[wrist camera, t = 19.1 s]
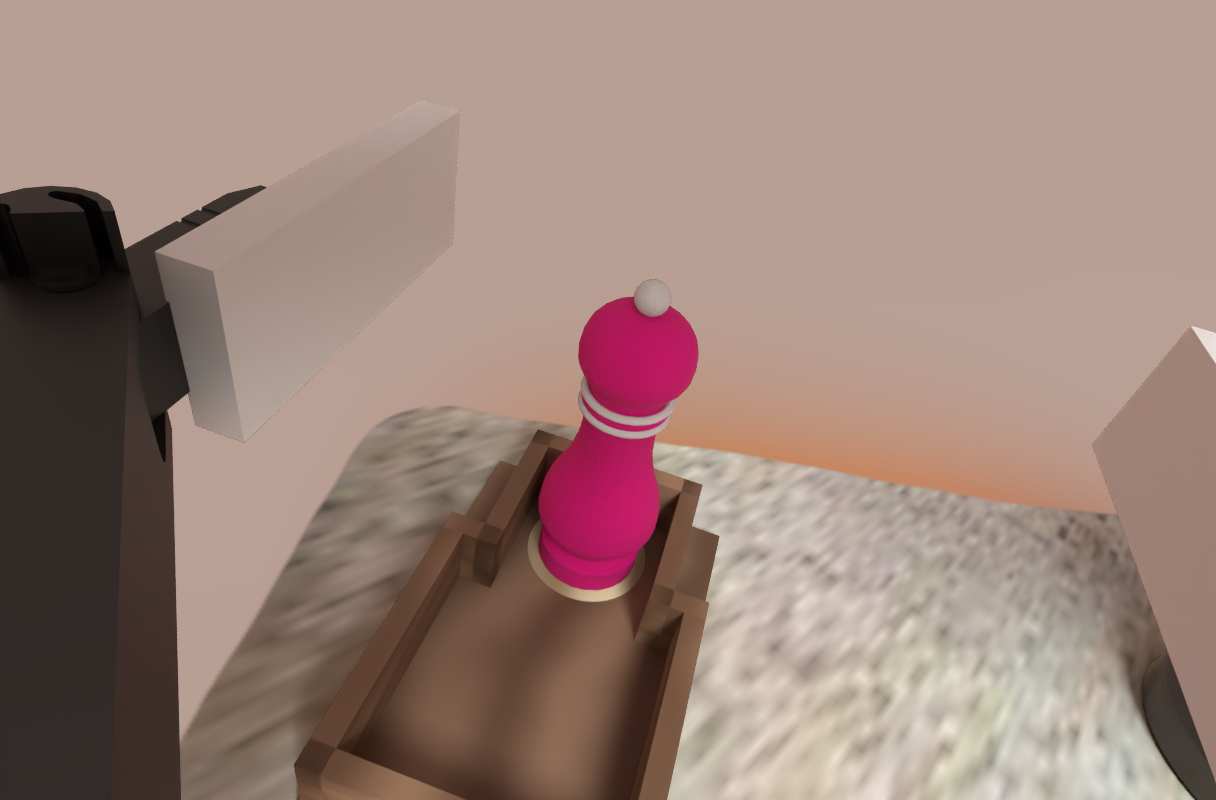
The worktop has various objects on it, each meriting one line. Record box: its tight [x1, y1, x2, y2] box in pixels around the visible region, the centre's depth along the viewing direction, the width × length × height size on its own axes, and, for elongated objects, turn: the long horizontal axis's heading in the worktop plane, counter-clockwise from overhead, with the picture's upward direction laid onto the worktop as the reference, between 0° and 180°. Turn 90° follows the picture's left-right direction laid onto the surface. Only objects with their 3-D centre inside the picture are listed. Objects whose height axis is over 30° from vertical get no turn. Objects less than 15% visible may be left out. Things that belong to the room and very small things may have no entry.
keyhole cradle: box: [294, 430, 719, 800], centre depth 41 cm, size 16×24×5 cm, turn 164°
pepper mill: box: [539, 279, 698, 590], centre depth 41 cm, size 7×7×20 cm
